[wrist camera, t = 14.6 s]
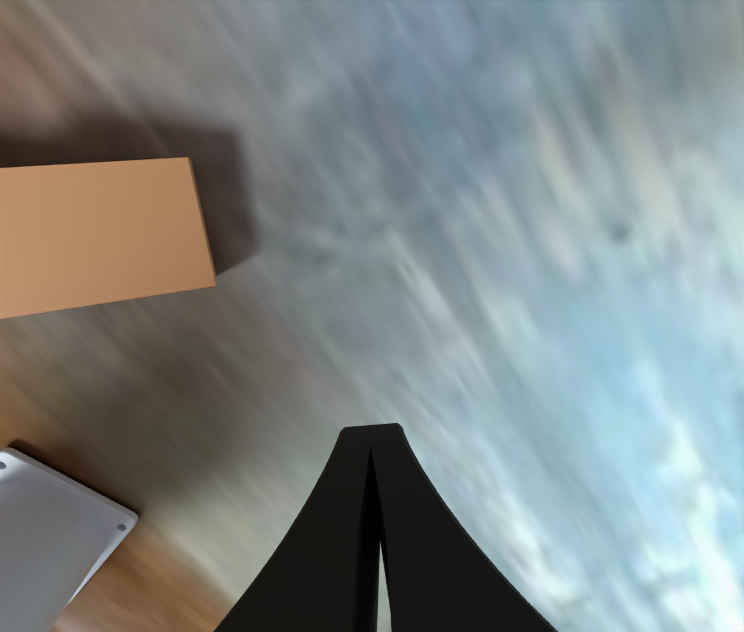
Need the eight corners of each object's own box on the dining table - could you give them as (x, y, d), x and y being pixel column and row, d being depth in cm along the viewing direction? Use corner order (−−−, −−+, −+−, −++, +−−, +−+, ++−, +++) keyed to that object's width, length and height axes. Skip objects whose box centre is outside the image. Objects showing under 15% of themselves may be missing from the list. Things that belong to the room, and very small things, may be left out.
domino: (187, 156, 15) (-68, 172, 12) (215, 286, 16) (-4, 319, 14) (191, 160, 16) (-32, 173, 14) (216, 276, 18) (21, 304, 16)
